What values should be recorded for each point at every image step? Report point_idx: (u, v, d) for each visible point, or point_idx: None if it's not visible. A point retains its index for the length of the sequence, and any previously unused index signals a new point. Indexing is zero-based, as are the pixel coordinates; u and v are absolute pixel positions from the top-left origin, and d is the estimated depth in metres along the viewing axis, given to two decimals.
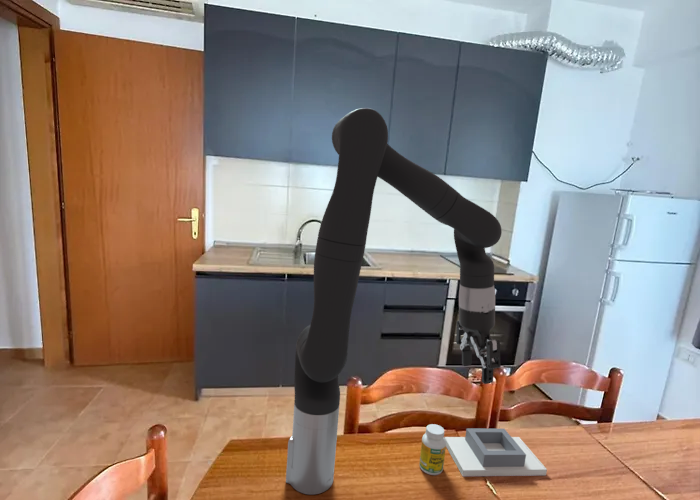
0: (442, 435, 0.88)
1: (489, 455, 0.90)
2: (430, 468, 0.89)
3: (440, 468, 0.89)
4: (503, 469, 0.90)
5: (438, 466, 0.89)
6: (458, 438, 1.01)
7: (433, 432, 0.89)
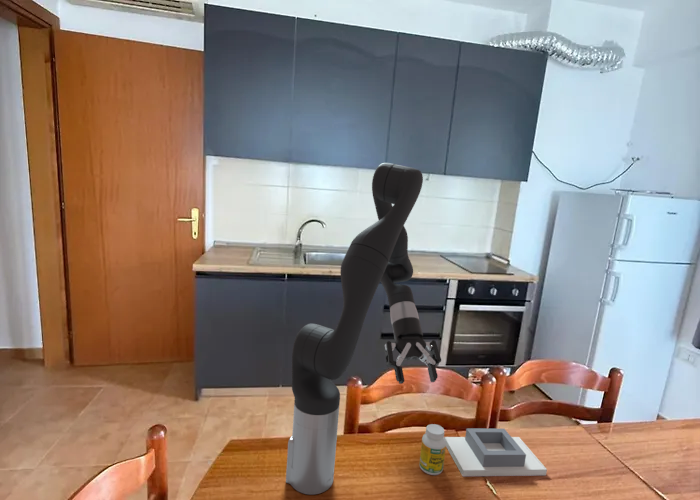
0: (442, 435, 0.88)
1: (489, 455, 0.90)
2: (430, 468, 0.89)
3: (440, 468, 0.89)
4: (503, 469, 0.90)
5: (438, 466, 0.89)
6: (458, 438, 1.01)
7: (433, 432, 0.89)
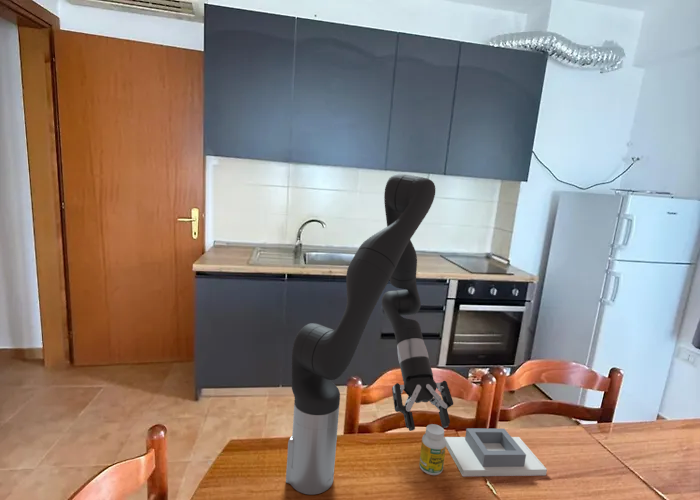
0: (442, 435, 0.88)
1: (489, 455, 0.90)
2: (430, 468, 0.89)
3: (440, 468, 0.89)
4: (503, 469, 0.90)
5: (438, 466, 0.89)
6: (458, 438, 1.01)
7: (433, 432, 0.89)
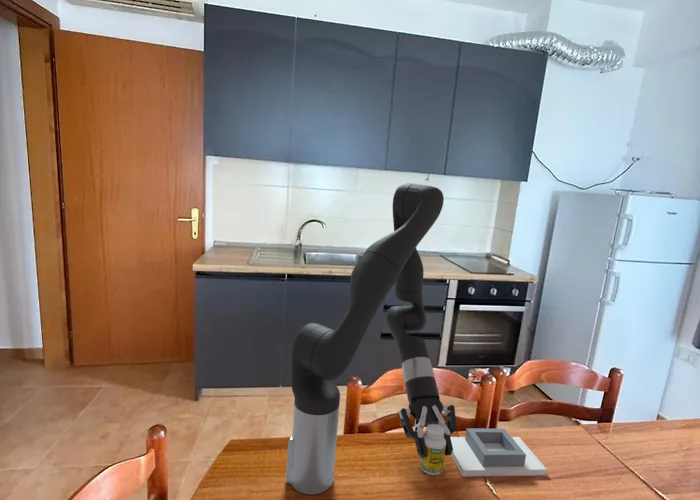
0: (442, 435, 0.88)
1: (489, 455, 0.90)
2: (430, 468, 0.89)
3: (440, 468, 0.89)
4: (503, 469, 0.90)
5: (438, 466, 0.89)
6: (458, 438, 1.01)
7: (433, 432, 0.89)
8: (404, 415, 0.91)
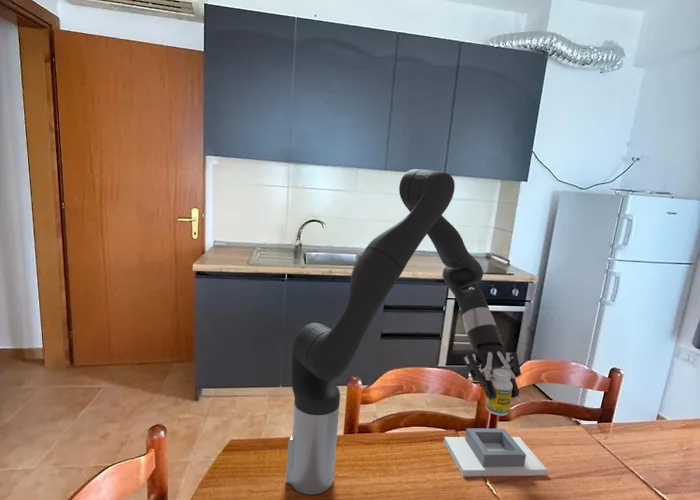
0: (509, 377, 0.92)
1: (489, 455, 0.90)
2: (498, 409, 0.92)
3: (507, 409, 0.93)
4: (503, 469, 0.90)
5: (506, 407, 0.92)
6: (458, 438, 1.01)
7: (501, 374, 0.92)
8: (471, 360, 0.95)
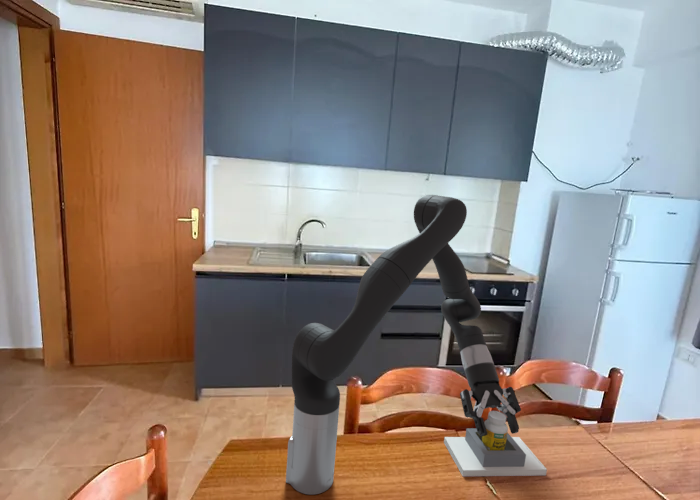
0: (505, 420, 0.93)
1: (489, 455, 0.90)
2: None
3: None
4: (503, 469, 0.90)
5: (501, 450, 0.94)
6: (458, 438, 1.01)
7: (496, 417, 0.94)
8: (466, 395, 0.96)
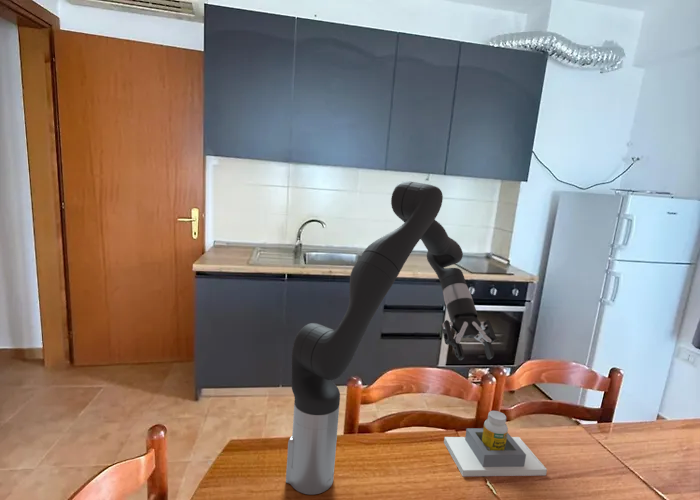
0: (505, 420, 0.94)
1: (489, 455, 0.90)
2: None
3: None
4: (503, 469, 0.90)
5: (501, 450, 0.94)
6: (458, 438, 1.01)
7: (496, 417, 0.94)
8: (447, 325, 1.07)
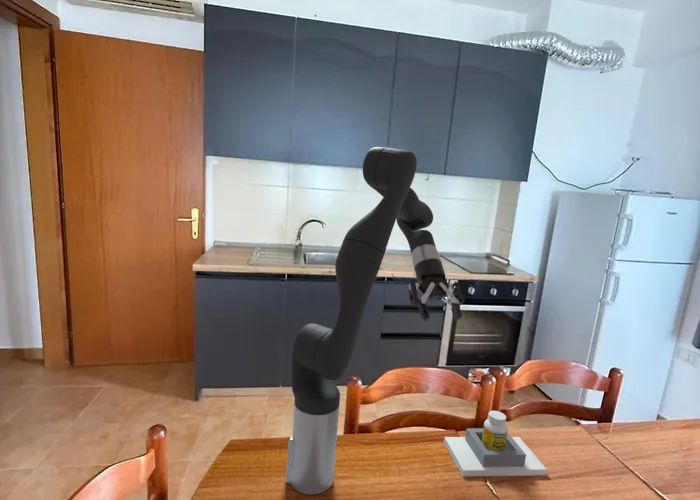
0: (505, 420, 0.94)
1: (489, 455, 0.90)
2: None
3: None
4: (503, 469, 0.90)
5: (501, 450, 0.94)
6: (458, 438, 1.01)
7: (496, 417, 0.94)
8: (412, 285, 1.03)
